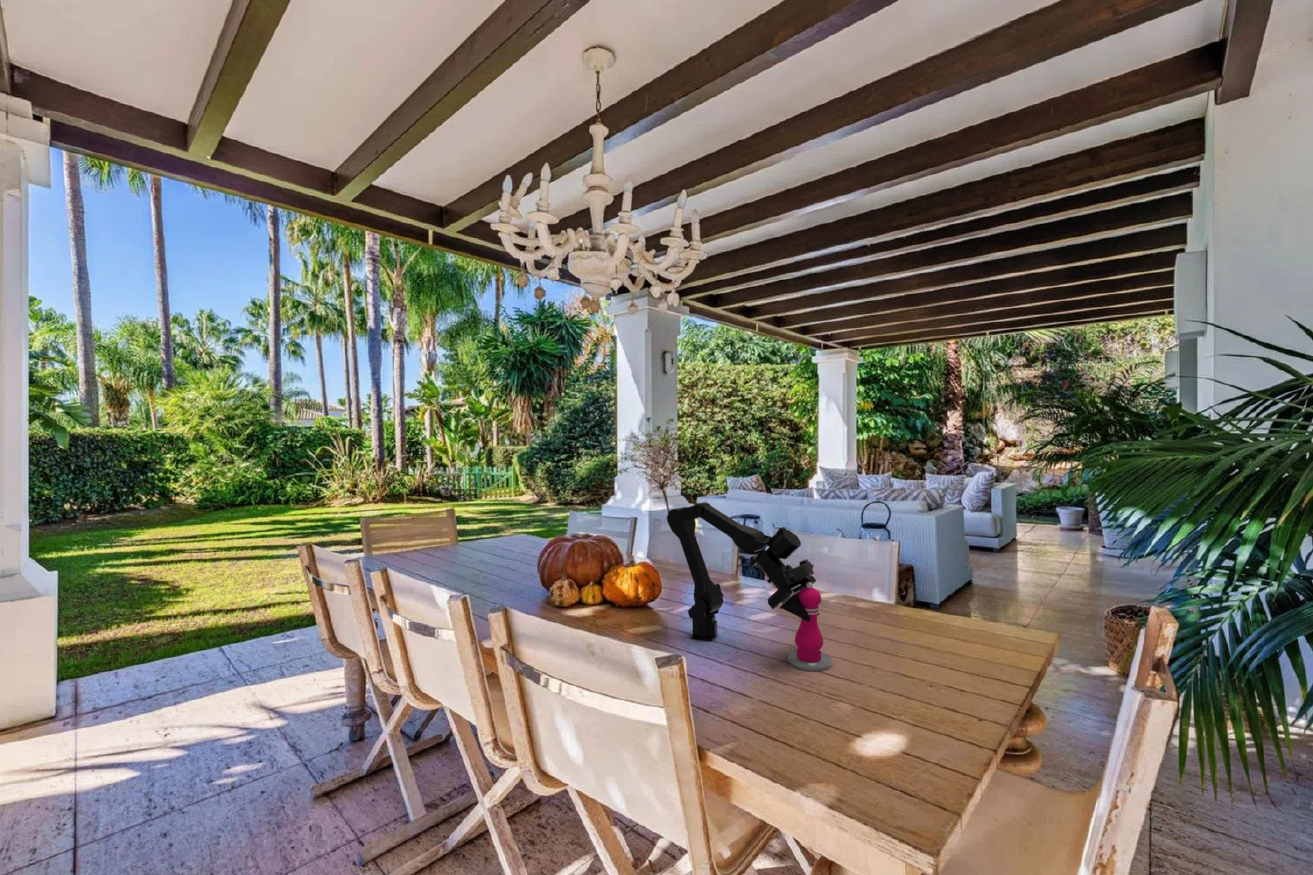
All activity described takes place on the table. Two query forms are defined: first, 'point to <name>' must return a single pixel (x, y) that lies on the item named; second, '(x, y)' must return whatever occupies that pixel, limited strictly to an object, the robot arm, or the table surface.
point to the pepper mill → (809, 626)
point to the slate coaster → (811, 663)
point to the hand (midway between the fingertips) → (813, 617)
